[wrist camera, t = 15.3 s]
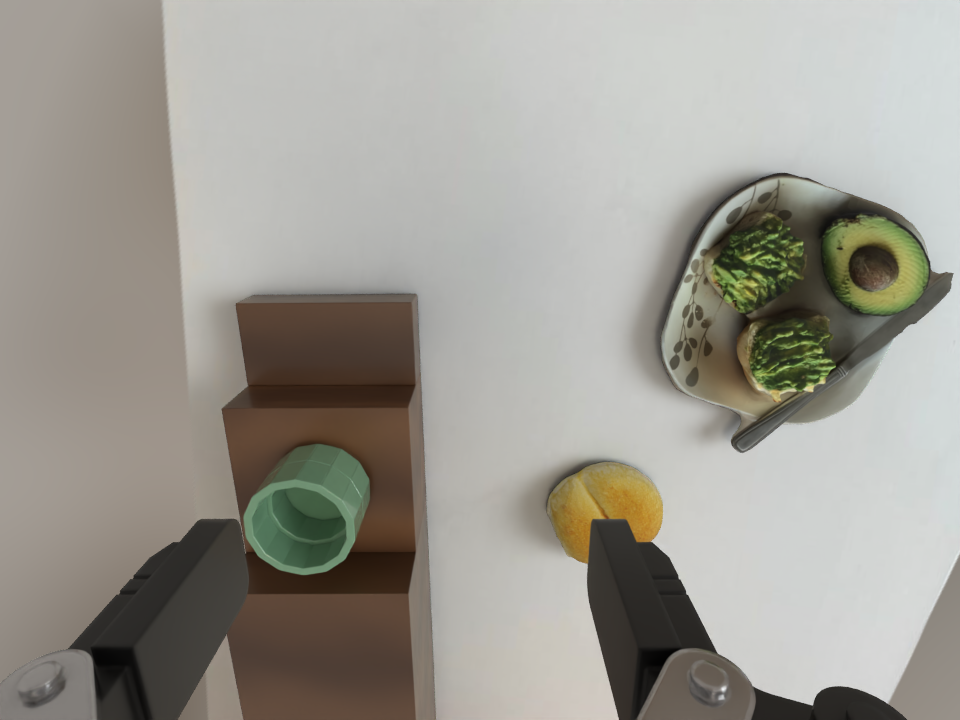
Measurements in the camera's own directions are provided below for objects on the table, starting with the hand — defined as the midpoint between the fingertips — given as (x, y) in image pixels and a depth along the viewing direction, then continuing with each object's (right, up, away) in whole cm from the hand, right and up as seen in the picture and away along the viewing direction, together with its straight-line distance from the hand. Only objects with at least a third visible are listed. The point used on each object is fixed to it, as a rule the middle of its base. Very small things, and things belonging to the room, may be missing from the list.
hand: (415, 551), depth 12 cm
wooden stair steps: (-9, -20, +36) cm, 42 cm away
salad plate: (+24, +9, +27) cm, 37 cm away
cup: (-9, -4, +23) cm, 25 cm away
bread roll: (+11, -8, +32) cm, 35 cm away
